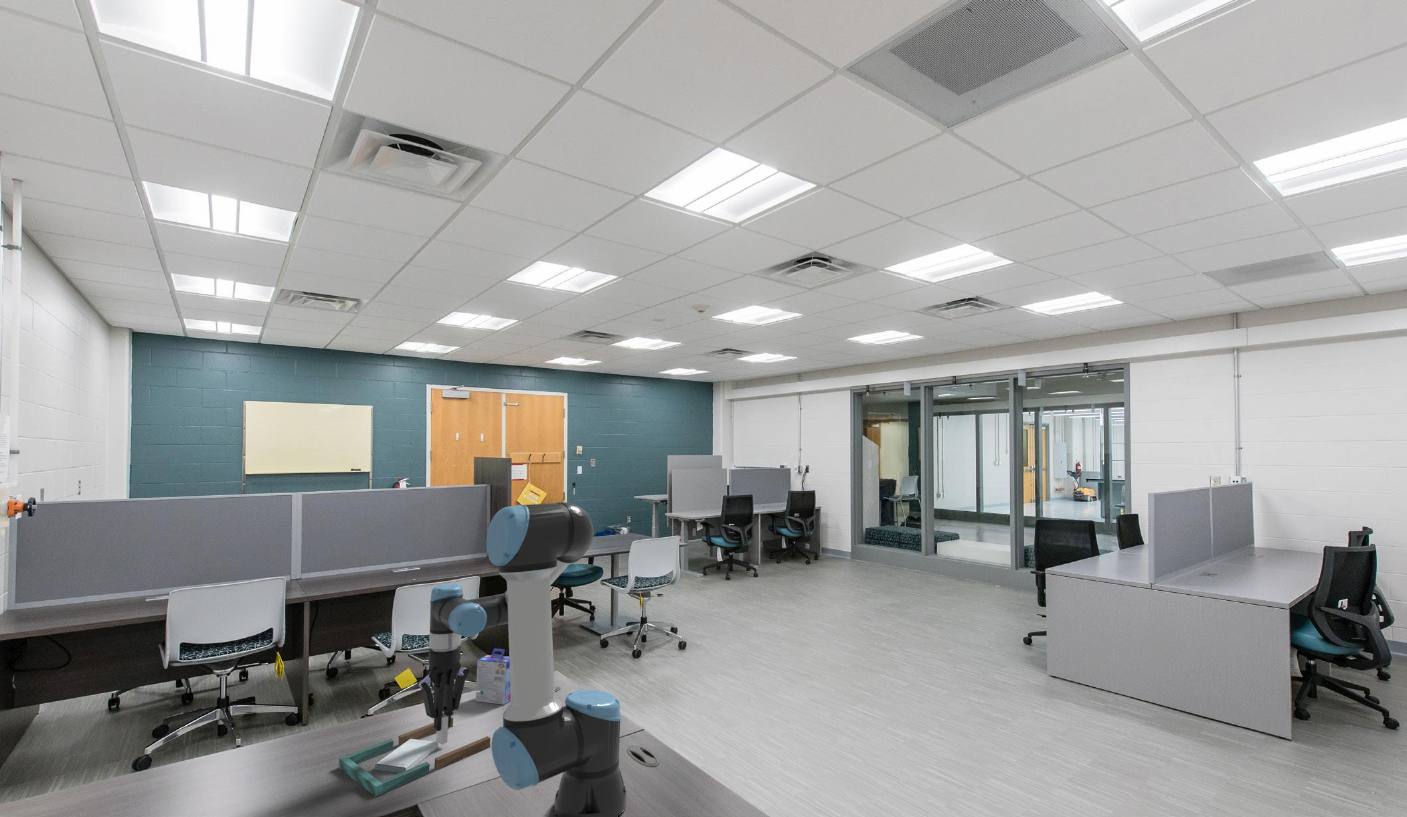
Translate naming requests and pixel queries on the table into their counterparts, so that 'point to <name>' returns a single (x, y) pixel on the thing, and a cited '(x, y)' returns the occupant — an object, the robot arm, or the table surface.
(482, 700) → the ink cartridge box
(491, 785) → the table surface
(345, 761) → the chute
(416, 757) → the hard drive
